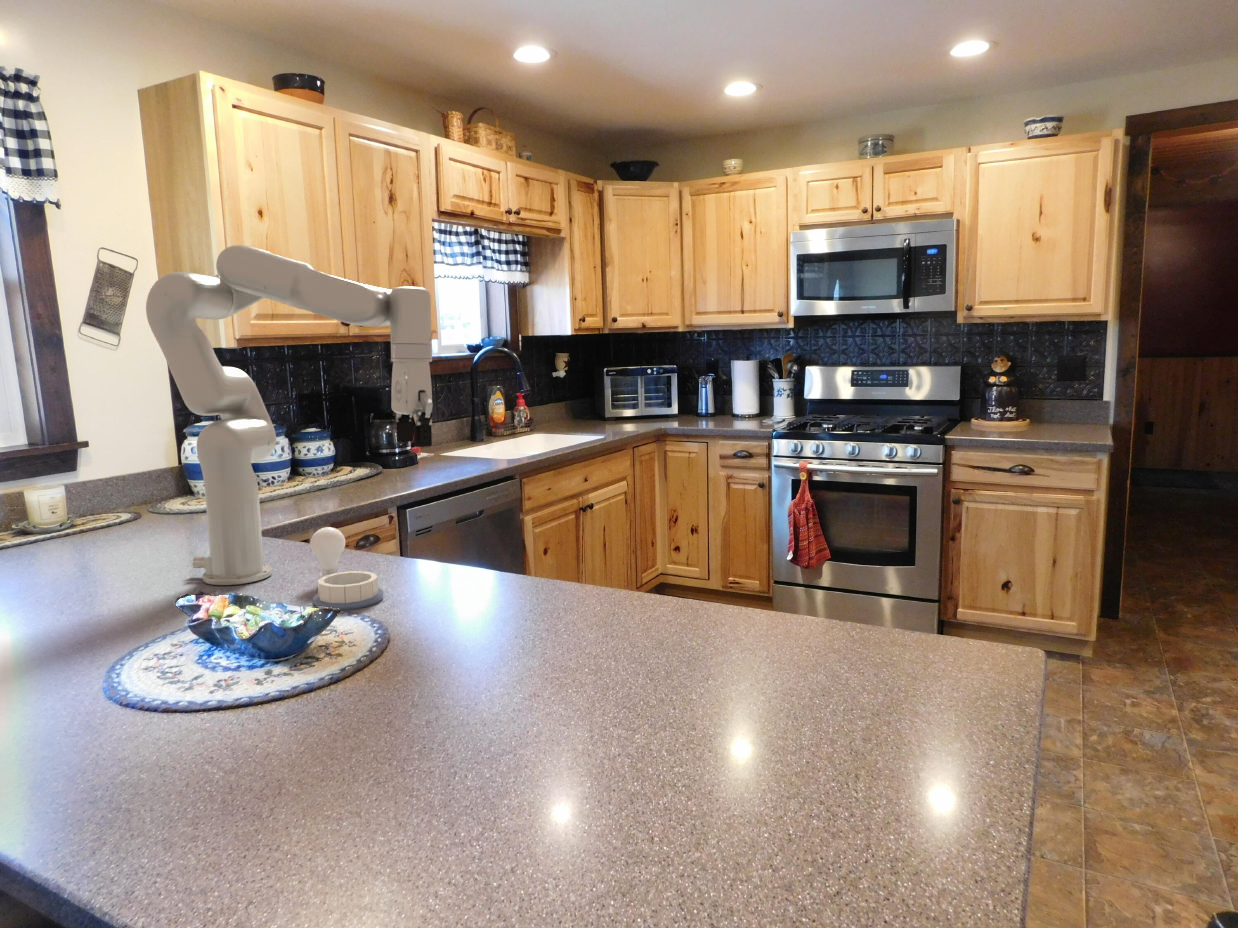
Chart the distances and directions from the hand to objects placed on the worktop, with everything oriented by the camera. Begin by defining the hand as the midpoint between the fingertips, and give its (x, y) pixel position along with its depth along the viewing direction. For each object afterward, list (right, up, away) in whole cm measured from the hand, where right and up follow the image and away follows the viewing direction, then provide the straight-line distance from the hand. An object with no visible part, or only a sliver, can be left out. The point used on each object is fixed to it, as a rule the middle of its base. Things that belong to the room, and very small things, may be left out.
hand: (413, 443), depth 156 cm
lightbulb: (-17, -27, +3) cm, 32 cm away
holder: (-10, -29, -9) cm, 31 cm away
